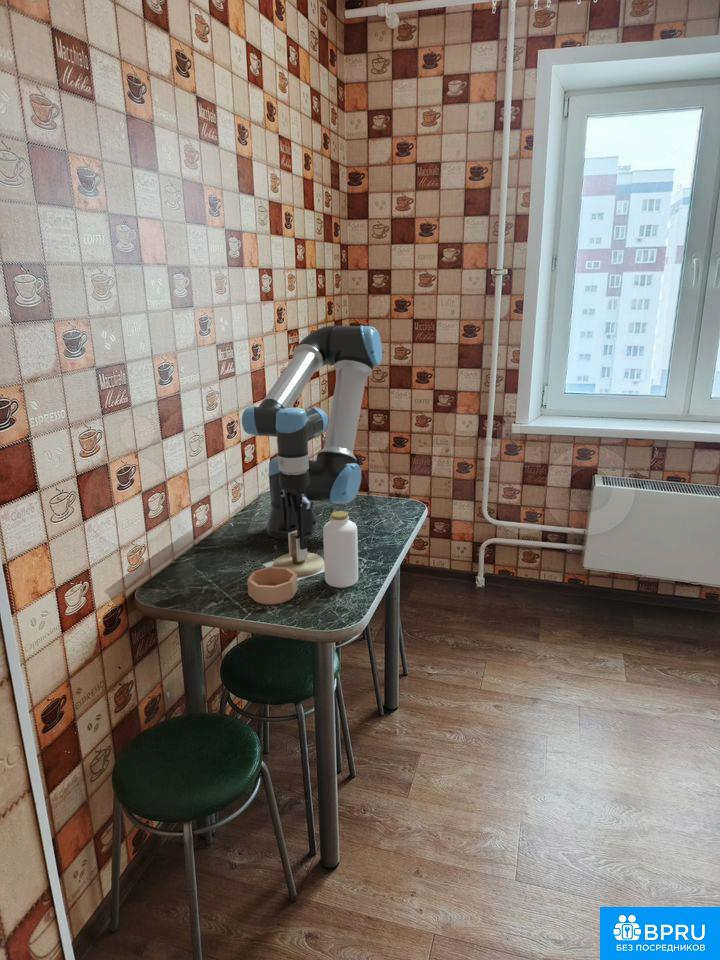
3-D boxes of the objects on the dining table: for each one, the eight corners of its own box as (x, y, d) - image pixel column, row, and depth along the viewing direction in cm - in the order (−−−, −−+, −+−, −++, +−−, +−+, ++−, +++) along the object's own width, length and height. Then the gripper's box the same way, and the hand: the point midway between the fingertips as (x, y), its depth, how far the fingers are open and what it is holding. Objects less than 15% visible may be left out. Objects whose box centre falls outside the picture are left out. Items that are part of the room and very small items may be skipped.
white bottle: (324, 575, 165) (321, 508, 160) (357, 573, 166) (355, 507, 161) (325, 590, 157) (322, 520, 152) (359, 588, 158) (358, 519, 153)
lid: (264, 564, 172) (262, 532, 169) (307, 552, 179) (305, 521, 176) (289, 581, 162) (287, 548, 159) (333, 567, 169) (332, 535, 166)
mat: (262, 565, 172) (262, 564, 172) (307, 552, 180) (307, 551, 180) (289, 584, 161) (288, 582, 161) (336, 569, 169) (335, 567, 169)
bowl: (242, 594, 156) (241, 575, 155) (282, 581, 163) (281, 563, 161) (264, 611, 148) (262, 591, 147) (304, 597, 154) (303, 578, 153)
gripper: (265, 466, 167) (270, 551, 174) (297, 481, 154) (302, 571, 161) (290, 461, 171) (294, 544, 178) (324, 475, 158) (327, 563, 165)
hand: (298, 557), depth 169 cm, fingers closed on lid, 3 cm apart
